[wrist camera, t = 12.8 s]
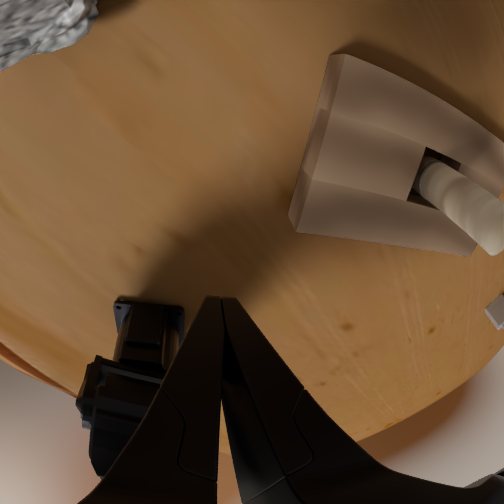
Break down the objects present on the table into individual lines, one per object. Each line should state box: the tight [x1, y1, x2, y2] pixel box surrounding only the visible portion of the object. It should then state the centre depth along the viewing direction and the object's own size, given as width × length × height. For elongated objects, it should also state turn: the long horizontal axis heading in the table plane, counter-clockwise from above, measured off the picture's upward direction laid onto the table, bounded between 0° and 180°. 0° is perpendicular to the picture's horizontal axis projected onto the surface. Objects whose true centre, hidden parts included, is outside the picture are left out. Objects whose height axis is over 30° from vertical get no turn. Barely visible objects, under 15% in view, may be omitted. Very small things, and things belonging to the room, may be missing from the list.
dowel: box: [412, 156, 504, 255], centre depth 17 cm, size 3×3×10 cm
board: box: [287, 54, 504, 257], centre depth 20 cm, size 12×20×2 cm, turn 79°
